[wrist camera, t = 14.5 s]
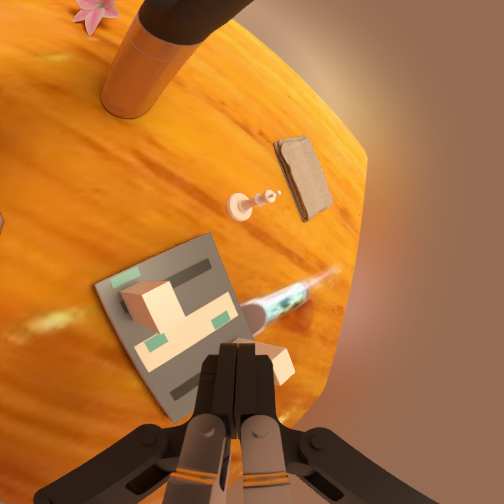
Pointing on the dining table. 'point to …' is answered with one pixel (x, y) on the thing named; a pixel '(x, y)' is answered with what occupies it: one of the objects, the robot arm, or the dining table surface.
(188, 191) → the dining table surface
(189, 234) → the dining table surface
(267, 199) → the chess piece
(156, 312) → the tab
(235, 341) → the tab
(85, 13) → the lily
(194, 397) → the switch bank
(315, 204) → the washcloth
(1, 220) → the flask
